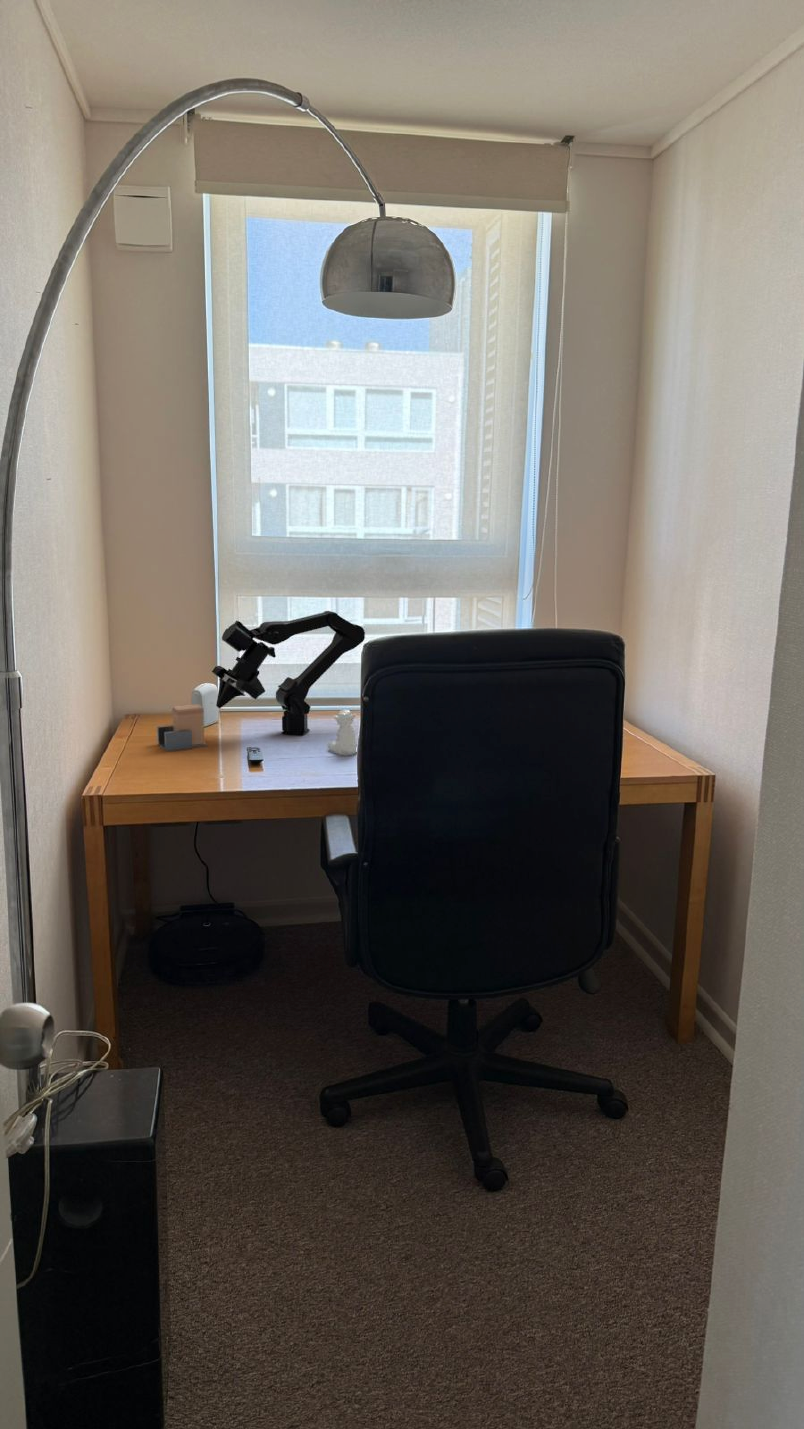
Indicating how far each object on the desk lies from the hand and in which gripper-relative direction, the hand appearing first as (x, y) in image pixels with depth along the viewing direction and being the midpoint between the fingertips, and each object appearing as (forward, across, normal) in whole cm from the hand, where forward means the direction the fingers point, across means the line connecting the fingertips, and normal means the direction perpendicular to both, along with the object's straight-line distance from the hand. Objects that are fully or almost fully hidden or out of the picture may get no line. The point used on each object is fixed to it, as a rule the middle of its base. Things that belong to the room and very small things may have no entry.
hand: (217, 707), depth 264 cm
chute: (+14, 0, +2) cm, 14 cm away
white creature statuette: (-9, -31, -22) cm, 39 cm away
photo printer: (+6, +20, -12) cm, 24 cm away
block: (+13, 0, 0) cm, 13 cm away
